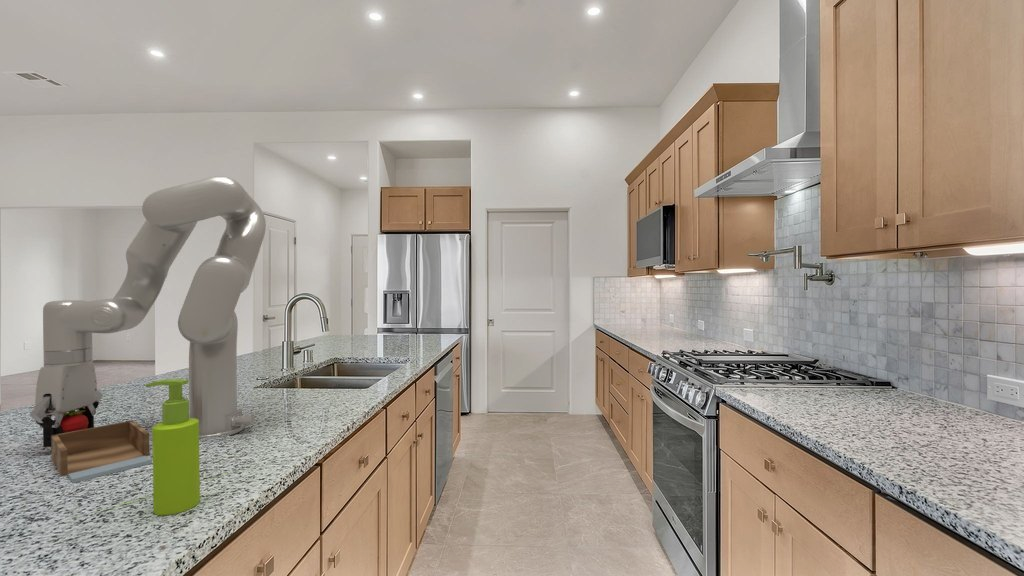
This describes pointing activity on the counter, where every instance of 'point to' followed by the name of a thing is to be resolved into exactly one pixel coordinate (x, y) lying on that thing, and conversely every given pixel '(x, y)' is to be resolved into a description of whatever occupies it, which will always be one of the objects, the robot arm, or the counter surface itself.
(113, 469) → the panel
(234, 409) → the robot arm
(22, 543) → the counter surface
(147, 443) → the crate
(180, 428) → the soap dispenser
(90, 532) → the counter surface
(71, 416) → the strawberry
